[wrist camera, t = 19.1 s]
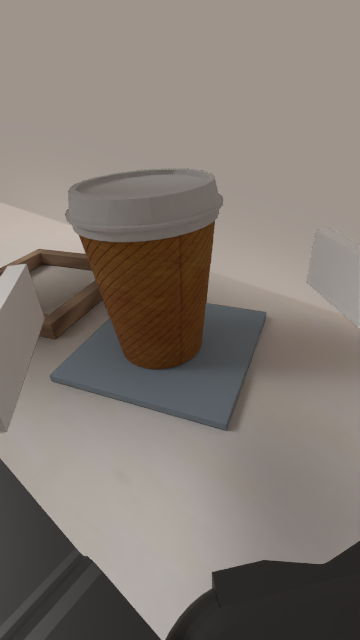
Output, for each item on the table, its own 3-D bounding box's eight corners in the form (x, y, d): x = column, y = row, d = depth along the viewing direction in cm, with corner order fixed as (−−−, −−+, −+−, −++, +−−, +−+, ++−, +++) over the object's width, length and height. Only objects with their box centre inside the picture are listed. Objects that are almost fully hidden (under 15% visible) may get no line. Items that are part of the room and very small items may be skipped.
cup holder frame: (55, 339, 28) (50, 324, 28) (-58, 313, 33) (-65, 300, 33) (135, 271, 39) (134, 259, 39) (41, 259, 44) (38, 248, 44)
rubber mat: (225, 430, 19) (225, 424, 19) (51, 380, 24) (49, 375, 24) (265, 317, 29) (266, 312, 29) (137, 297, 34) (136, 292, 34)
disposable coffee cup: (109, 316, 30) (78, 174, 24) (214, 307, 30) (211, 162, 24) (91, 392, 22) (36, 209, 16) (233, 379, 22) (238, 192, 16)
